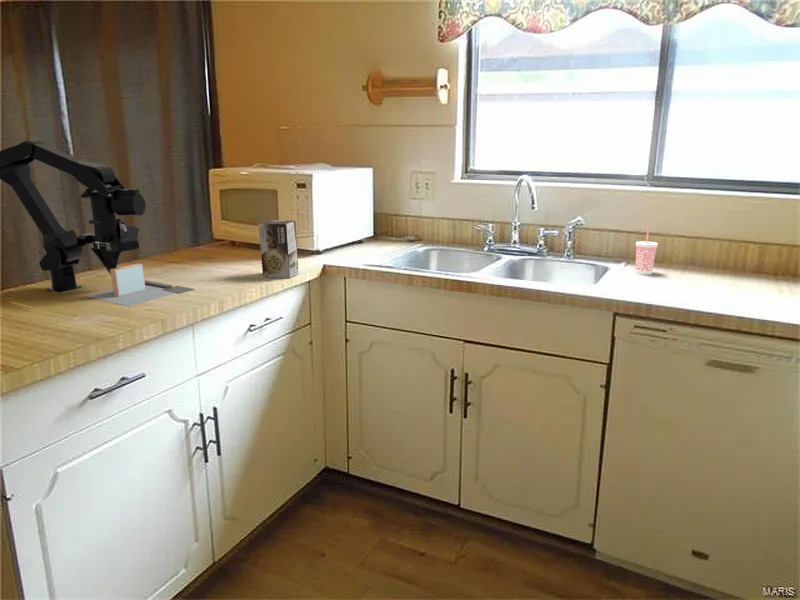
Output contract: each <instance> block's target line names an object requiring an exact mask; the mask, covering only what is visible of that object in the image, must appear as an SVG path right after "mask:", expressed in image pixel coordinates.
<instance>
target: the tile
mask: <svg viewBox="0 0 800 600" xmlns="http://www.w3.org/2000/svg"><path fill="white" fill-rule="evenodd" d="M110 272H111V274H110V277H111V278H110V280H111V285H112V290H113V293H114V296H118V297H120V296H124V295H127V294H131V293H135V292H139V291H143V290H146V287H145V280H146V279H145V274H144V273H145V272H144V267H143V263H135V264H133V263H132V264H129V265H125V266H120V267H119V266H118V267H116V268H114V269H110Z"/></svg>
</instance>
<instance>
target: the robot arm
mask: <svg viewBox="0 0 800 600" xmlns="http://www.w3.org/2000/svg"><path fill="white" fill-rule="evenodd" d="M36 160H37V161H39V162H40V163H43V164H46V165H48V166H50V167H52V168H54V169H57V170H59V171H62V172H64V173H66V174H68V175H70V176H71V177H74V178H75V180H76V182H78V183H80V184H81V185H83V186H84V187H86V189H85V190H84V192H82V194H81V195H80V198H82V199H89V205H90V211H91V219H88V222H89V224H91V225H92V227H93V232H89V233H83V234H79V235H78V236H77V233H76V231H74V230H73V229H72V230H71V229H70V230H66V229H65V228H63V227H62V226H61V224H60V223H59V221H58V220H57V218H56V216H55V215H54V214H53V212H52V210H51V208H50V207H49V205H48V204H47V202H46V200H45V199H44V198H43V195H42V194H41V193H40V191H39V190H38V188H37V187H36V185H35V184H34V182H33V180H32V176H31V167H30V164H32V163H34V162H35V161H36ZM0 180H1V181H2V182H3V183H5V184H6V185H8V186H10V187H11V188H12V190H13V191H14V194H15V195H16V197H17V198H18V200H19V201H20V202H21V204H22V206H23V207H24V208H25V210H26V212H27V213H28V215H29V216H30V218H31V219H32V221H33V223H34V224H35V225H36V227H37V229H38V230H39V232H40V233H41V234H42V235H41V236H42V247H43V249H44V251H45V254H44V256H43V257H42V259H41V260H40V261H39V263H38V264H39V267H40V268H41V271H45V272H46V271H49V276H50V282H51V286H50V287H46V291H47V292H48V291H49V292H56V293H64V292H67V291H72V290H77V289H81V288H83V286H82V285H79V284H77V281H76V275H75V270H74V269H75V268H74V266H75V265H79V264H80V260H81V259H80V258H81V257H82V255H83V251H84V248H83V247H86V246H87V245H90V244H92V246H93V247H91V248H90V251H92V252H93V253H94V254H95V255H96V256H97V257H98V259H99V260H100V262H101V263H102V265H103V267H104V268H105V269H106V270H107V272H108V273H109V274H110V275H111V272H110V269H114V268H118V267H117V266H118V262H119V259H120V254H121V253H123V252H127V251H132V250H137V249H140V247H141V244H140V241H139V239H138V238H139V232H140V227H136V226H133V225H128V224H126V222H125V221H123V220H122V219H121V218H119V217H117V215H118V216H135V217H137V216H138V217H141V216H142V215H144V214H145V212H146V207H147V206H146V200H145V199H144V196H143V195H142V194H141V193H140V190H139V188H131V189H126V187H125V186H124V185H123V183H121V181H120V180H119V179H118V177H116V174H115V172H114V169H113V168H111V167H110V166H109V165H105V164H101V163H98V162H93V161H92V162H90V161H85V160H82V159H80V158H79V159H78V158H77V157H75V156H72V155H70V154H67V153H66V152H63V151H60V150H58V149H56V148H55V147H54V148H53V147H51V146H49V145H47V144H44V143H43V142H42V141H40V140H23V141H22V142H20V143H18V144H16V145H13V146H10V147H8V148H5V149H1V150H0Z"/></svg>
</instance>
